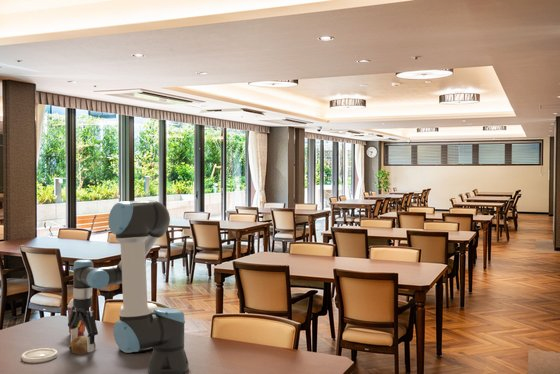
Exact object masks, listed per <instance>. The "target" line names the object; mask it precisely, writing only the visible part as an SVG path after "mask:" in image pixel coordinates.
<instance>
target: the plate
mask: <svg viewBox="0 0 560 374" xmlns="http://www.w3.org/2000/svg"><path fill="white" fill-rule="evenodd" d="M57 357H58V350H57V349H55V348H48V347H43V348H35V349H30V350H27V351H24V352H22V355H21V361H23V362H25V363H31V364H35V363H36V364H38V363H44V362H45V363H46V362H49V361H52V360H54V359H56V358H57Z"/></svg>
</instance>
